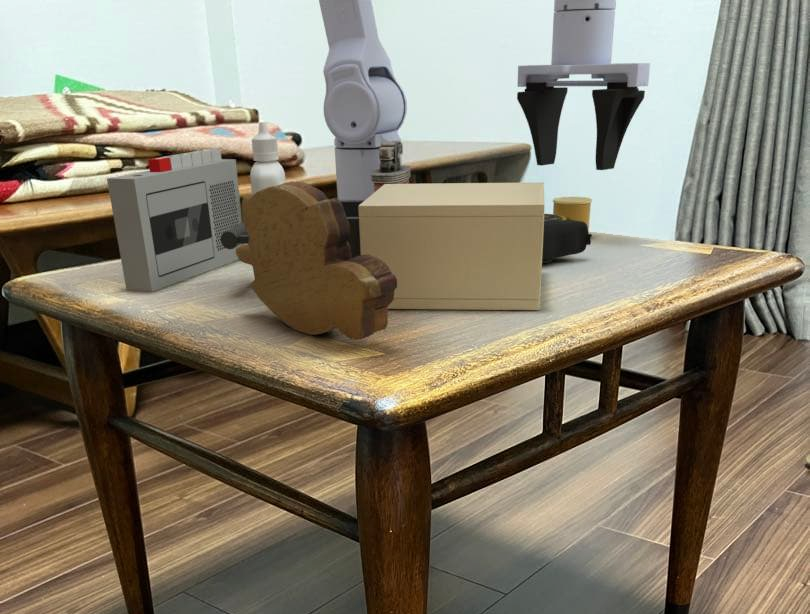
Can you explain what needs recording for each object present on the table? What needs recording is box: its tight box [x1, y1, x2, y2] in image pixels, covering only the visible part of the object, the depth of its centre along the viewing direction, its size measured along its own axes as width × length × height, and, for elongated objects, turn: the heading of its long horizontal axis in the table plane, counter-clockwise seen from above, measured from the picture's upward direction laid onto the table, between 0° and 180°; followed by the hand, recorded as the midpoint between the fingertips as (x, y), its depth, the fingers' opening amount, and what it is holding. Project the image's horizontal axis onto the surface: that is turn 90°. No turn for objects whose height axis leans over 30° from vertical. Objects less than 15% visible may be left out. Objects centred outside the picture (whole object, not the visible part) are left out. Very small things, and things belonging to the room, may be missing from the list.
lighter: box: [371, 140, 412, 193], centre depth 87 cm, size 8×3×10 cm, turn 168°
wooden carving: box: [236, 181, 397, 340], centre depth 61 cm, size 16×5×10 cm, turn 44°
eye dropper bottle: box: [249, 121, 287, 194], centre depth 87 cm, size 4×6×12 cm
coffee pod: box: [552, 196, 593, 234], centre depth 92 cm, size 4×4×4 cm
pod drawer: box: [221, 200, 365, 258], centre depth 72 cm, size 17×11×6 cm
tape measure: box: [542, 213, 593, 264], centre depth 82 cm, size 7×7×4 cm
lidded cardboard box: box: [358, 182, 546, 311], centre depth 71 cm, size 14×13×8 cm
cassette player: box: [106, 148, 245, 293], centre depth 80 cm, size 16×3×10 cm, turn 158°
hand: (574, 166), depth 89 cm, fingers open, 7 cm apart
